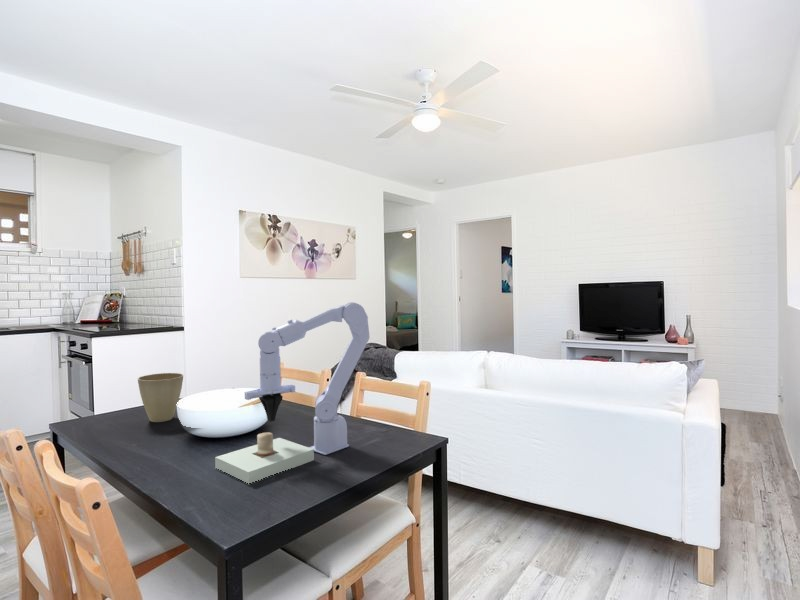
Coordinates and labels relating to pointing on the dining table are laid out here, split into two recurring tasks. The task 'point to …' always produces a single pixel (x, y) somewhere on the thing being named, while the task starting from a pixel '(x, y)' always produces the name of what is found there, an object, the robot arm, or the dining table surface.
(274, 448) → the board
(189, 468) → the dining table surface
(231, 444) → the dining table surface
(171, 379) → the plant pot
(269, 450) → the peg
